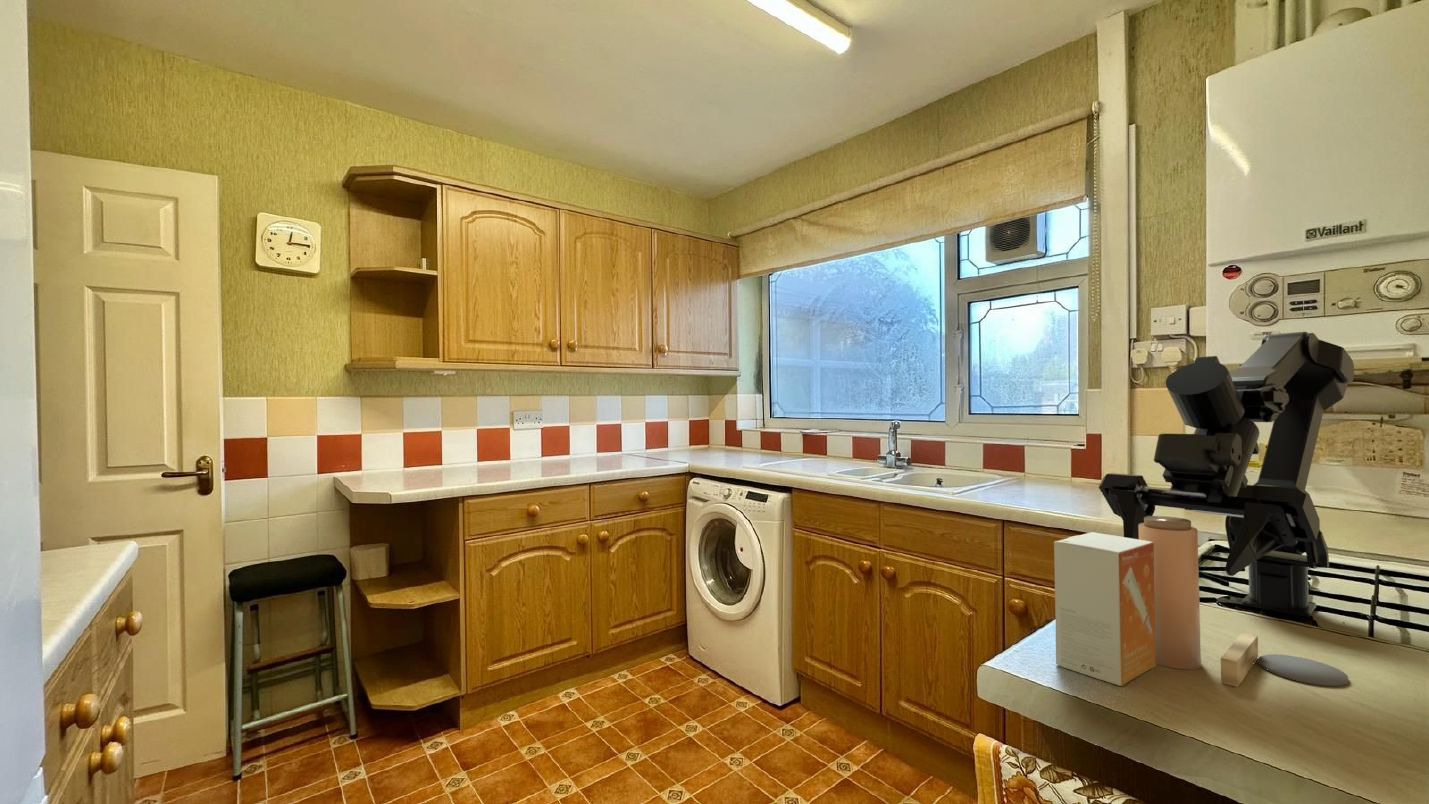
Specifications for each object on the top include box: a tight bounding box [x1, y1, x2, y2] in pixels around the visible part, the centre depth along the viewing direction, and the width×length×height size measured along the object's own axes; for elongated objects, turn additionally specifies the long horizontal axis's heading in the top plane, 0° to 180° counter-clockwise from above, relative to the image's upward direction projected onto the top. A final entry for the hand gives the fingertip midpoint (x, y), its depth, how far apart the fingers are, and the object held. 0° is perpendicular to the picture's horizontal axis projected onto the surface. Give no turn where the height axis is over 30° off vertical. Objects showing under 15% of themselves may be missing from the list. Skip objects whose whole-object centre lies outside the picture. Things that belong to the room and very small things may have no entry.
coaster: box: [1257, 654, 1349, 687], centre depth 60 cm, size 6×6×1 cm
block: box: [1220, 631, 1259, 688], centre depth 60 cm, size 10×1×2 cm, turn 129°
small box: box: [1053, 531, 1157, 687], centre depth 62 cm, size 8×6×13 cm
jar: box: [1138, 515, 1202, 670], centre depth 63 cm, size 5×5×15 cm
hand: (1175, 563), depth 64 cm, fingers open, 9 cm apart
